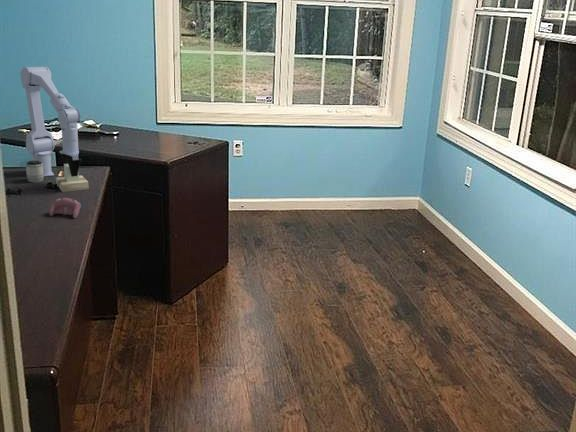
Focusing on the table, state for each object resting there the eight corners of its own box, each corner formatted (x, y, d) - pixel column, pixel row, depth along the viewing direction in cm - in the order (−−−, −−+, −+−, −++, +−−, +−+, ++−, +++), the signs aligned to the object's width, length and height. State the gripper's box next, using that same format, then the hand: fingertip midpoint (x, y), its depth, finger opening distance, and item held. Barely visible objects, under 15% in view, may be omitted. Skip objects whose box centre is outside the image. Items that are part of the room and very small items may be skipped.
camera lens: (31, 177, 247) (29, 159, 244) (46, 179, 247) (45, 160, 244) (24, 182, 241) (22, 163, 238) (39, 183, 241) (38, 164, 238)
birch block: (56, 184, 241) (56, 177, 240) (82, 182, 246) (81, 175, 245) (62, 192, 233) (62, 184, 232) (88, 189, 238) (88, 182, 237)
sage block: (64, 178, 239) (63, 164, 237) (76, 177, 241) (75, 163, 239) (67, 181, 236) (66, 167, 234) (79, 180, 238) (78, 166, 236)
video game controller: (80, 219, 212) (83, 200, 212) (75, 218, 207) (78, 198, 208) (53, 217, 212) (56, 197, 213) (47, 215, 208) (50, 195, 208)
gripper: (54, 136, 237) (56, 169, 241) (63, 144, 225) (65, 179, 230) (73, 135, 240) (75, 167, 245) (83, 143, 229) (84, 177, 234)
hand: (71, 173), depth 238 cm, fingers open, 7 cm apart
